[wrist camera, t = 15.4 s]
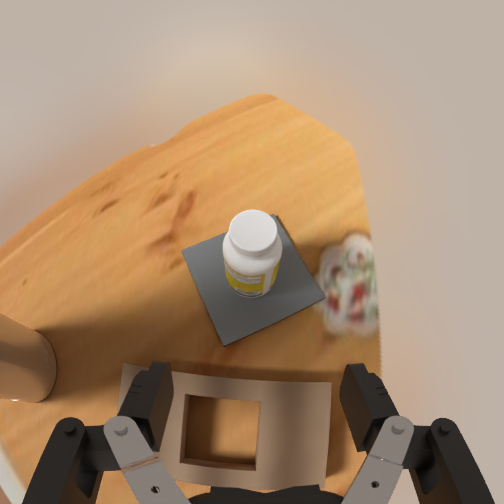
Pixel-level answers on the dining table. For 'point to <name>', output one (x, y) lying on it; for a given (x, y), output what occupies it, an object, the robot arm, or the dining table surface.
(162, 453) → the bottle holder tray
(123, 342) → the dining table surface
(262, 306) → the slate pad
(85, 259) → the dining table surface
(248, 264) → the supplement bottle
